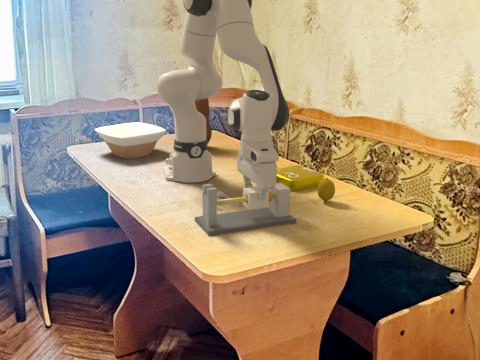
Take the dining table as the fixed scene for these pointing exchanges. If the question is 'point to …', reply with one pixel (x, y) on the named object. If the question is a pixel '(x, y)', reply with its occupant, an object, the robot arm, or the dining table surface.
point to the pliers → (223, 196)
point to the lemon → (326, 190)
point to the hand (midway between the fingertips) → (254, 194)
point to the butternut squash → (203, 108)
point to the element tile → (299, 177)
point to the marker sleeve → (255, 198)
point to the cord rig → (244, 212)
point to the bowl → (131, 138)
